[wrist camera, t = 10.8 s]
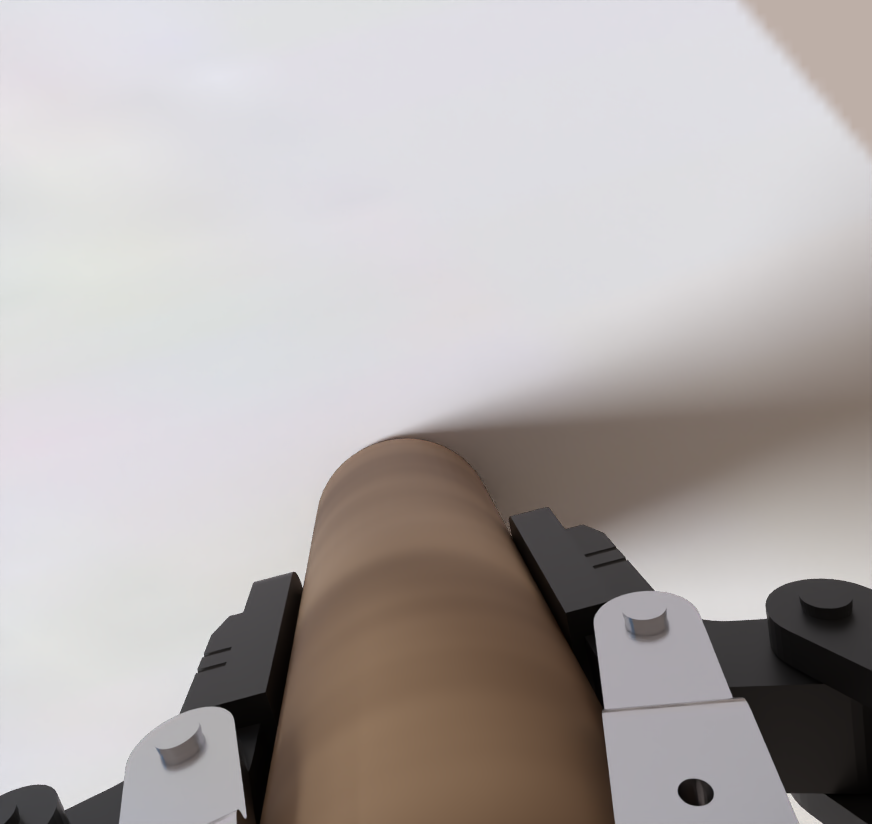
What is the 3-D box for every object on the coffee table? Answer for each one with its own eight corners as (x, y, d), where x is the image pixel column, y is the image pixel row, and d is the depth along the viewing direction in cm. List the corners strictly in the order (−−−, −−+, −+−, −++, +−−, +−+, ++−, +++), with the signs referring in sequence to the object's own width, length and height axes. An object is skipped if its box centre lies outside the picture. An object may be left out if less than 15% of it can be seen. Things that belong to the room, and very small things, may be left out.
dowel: (506, 578, 16) (891, 1435, 4) (342, 621, 16) (281, 1641, 4) (470, 419, 15) (842, 967, 3) (295, 463, 15) (46, 1210, 3)
